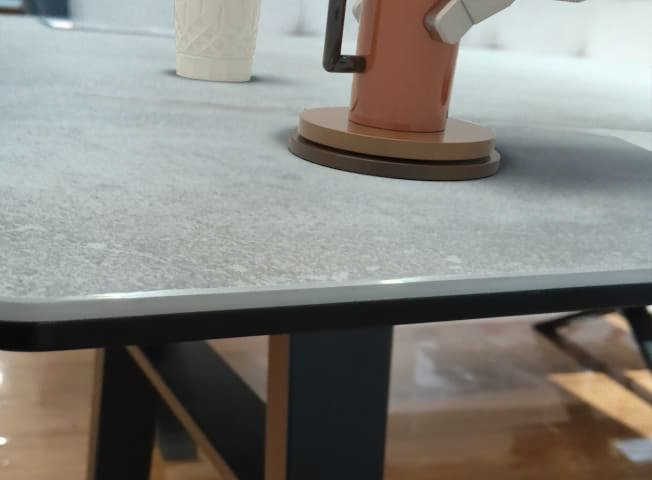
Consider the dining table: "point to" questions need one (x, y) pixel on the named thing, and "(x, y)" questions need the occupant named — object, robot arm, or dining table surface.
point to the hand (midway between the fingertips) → (397, 27)
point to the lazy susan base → (392, 162)
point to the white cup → (216, 38)
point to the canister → (394, 88)
